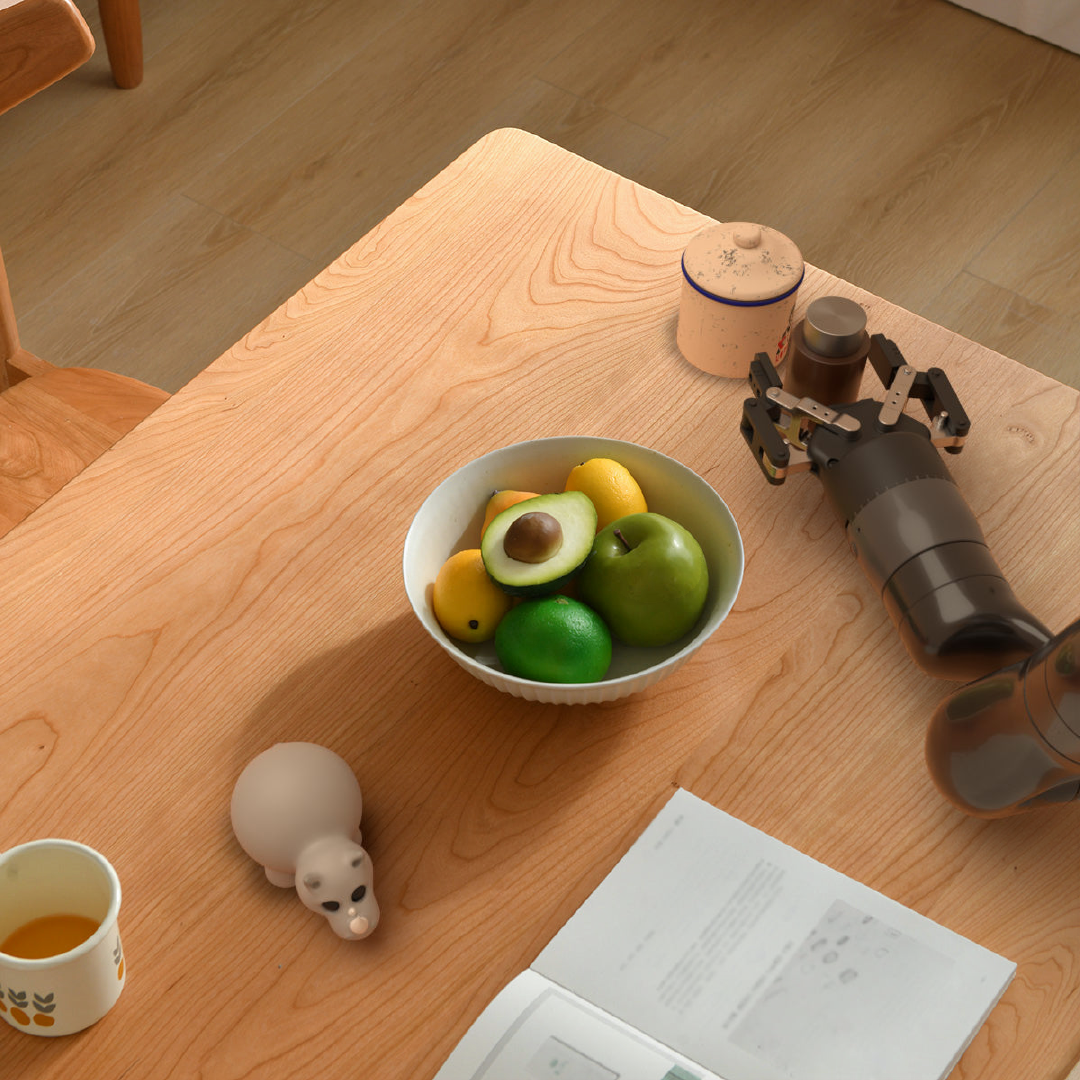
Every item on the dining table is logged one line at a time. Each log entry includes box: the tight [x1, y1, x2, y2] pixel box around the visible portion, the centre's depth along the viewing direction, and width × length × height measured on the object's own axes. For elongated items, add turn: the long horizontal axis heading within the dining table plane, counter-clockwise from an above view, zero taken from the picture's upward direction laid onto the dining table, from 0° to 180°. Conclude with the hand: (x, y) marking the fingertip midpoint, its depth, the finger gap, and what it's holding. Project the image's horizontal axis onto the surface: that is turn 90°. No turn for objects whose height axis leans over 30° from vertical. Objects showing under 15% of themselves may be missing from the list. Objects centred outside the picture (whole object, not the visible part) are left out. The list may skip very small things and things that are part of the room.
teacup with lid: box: [676, 221, 806, 379], centre depth 103 cm, size 12×9×12 cm
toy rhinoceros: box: [230, 741, 381, 941], centre depth 74 cm, size 7×12×8 cm, turn 29°
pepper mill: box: [777, 295, 871, 451], centre depth 95 cm, size 5×5×13 cm
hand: (815, 351), depth 95 cm, fingers open, 8 cm apart
